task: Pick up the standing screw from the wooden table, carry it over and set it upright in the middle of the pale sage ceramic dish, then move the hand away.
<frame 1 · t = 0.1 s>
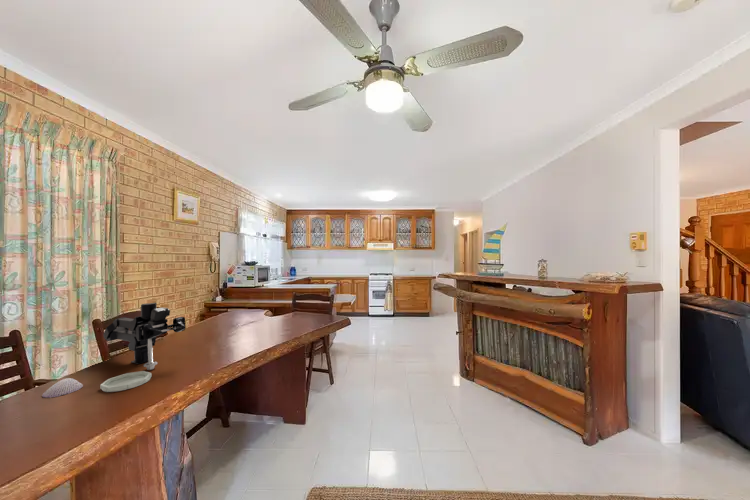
hand: (173, 329, 129), 17 cm above the table, tool horizontal, fingers open, 9 cm apart
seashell: (63, 392, 111), on the table
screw: (150, 369, 130), on the table
dish: (127, 383, 116), on the table
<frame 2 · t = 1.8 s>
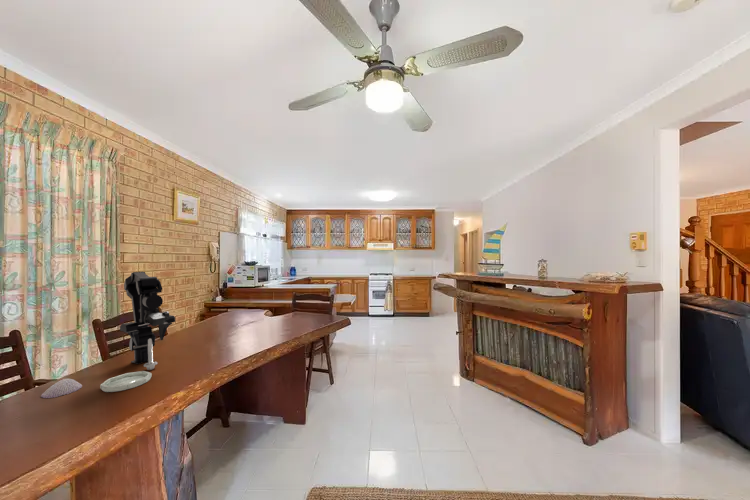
hand: (149, 343, 130), 11 cm above the table, tool pointing down, fingers open, 9 cm apart
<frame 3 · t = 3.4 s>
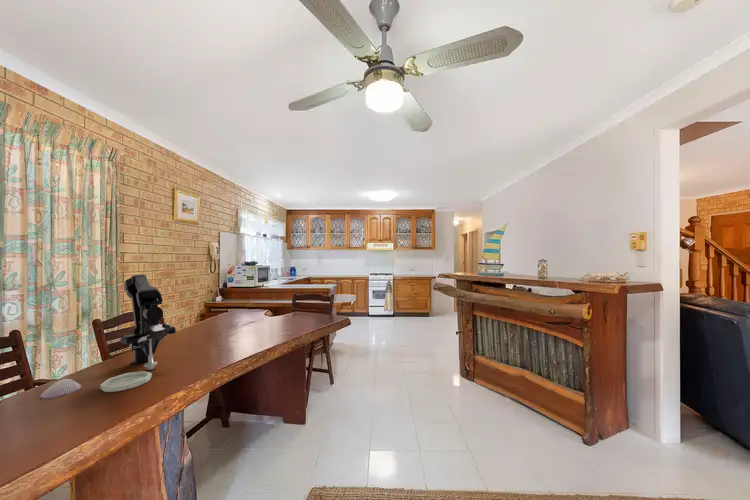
hand: (150, 354, 130), 6 cm above the table, tool pointing down, fingers closed on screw, 2 cm apart
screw: (150, 369, 130), on the table, touching gripper
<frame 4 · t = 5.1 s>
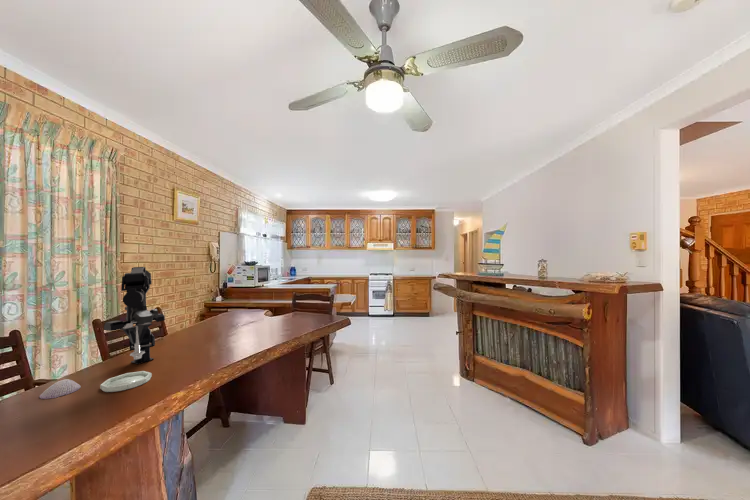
hand: (136, 343, 121), 13 cm above the table, tool pointing down, fingers closed on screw
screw: (137, 358, 121), point 7 cm above the table, touching gripper
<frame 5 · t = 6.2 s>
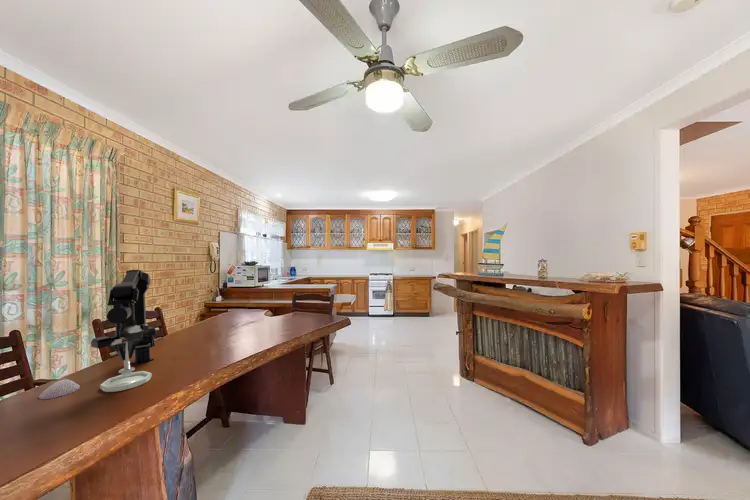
hand: (126, 359, 116), 9 cm above the table, tool pointing down, fingers closed on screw
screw: (127, 375, 116), point 3 cm above the table, touching gripper
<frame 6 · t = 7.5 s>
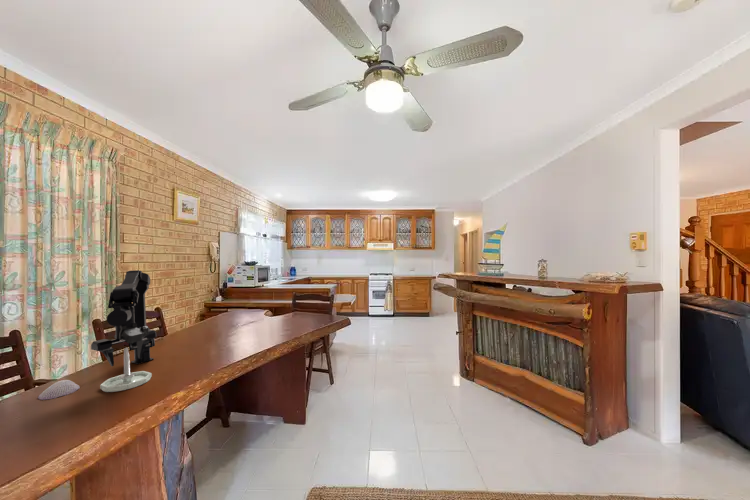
hand: (126, 362, 116), 8 cm above the table, tool pointing down, fingers open, 8 cm apart
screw: (127, 382, 116), resting in dish
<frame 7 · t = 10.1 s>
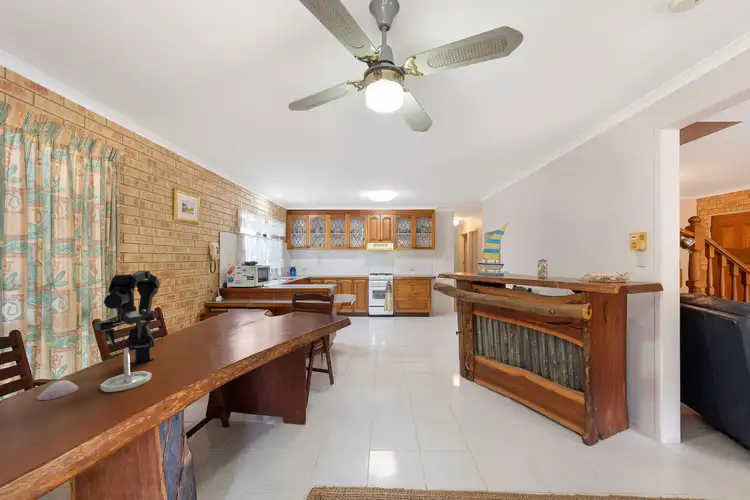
hand: (127, 341, 127), 13 cm above the table, tool pointing down, fingers open, 9 cm apart
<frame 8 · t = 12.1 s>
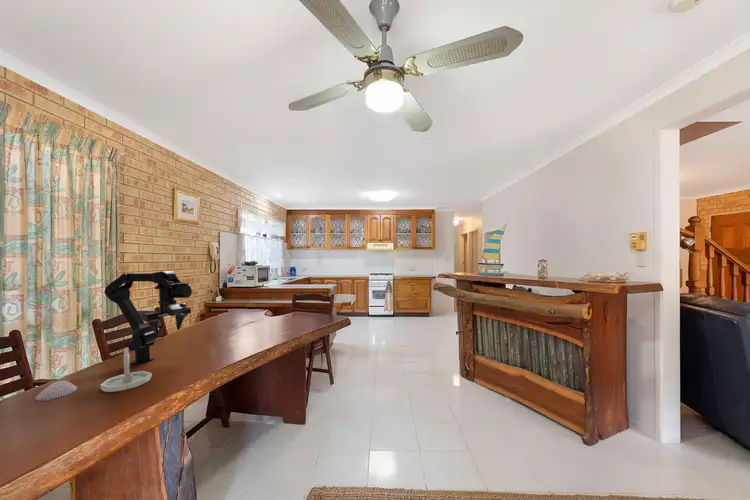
hand: (167, 332, 139), 13 cm above the table, tool pointing down, fingers open, 9 cm apart
at the end: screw inside the target area on the dish (0.1 cm from its centre), point 0.4 cm above the dish's base; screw tilted 0°; the gripper is holding nothing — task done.
